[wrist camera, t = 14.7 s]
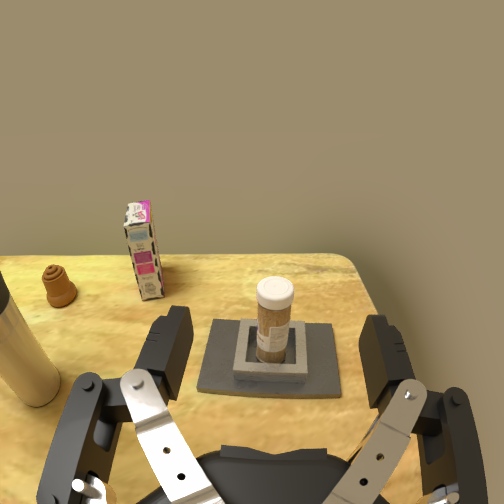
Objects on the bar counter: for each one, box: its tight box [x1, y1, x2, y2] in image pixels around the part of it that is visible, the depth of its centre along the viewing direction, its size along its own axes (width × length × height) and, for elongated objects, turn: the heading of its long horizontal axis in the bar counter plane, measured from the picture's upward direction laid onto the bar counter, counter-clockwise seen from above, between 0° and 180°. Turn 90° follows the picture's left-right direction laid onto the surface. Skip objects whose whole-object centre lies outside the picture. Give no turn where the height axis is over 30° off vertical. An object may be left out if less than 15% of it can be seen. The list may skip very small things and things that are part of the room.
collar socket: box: [197, 319, 341, 399], centre depth 42 cm, size 20×14×4 cm
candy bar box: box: [124, 200, 165, 301], centre depth 55 cm, size 11×5×16 cm, turn 18°
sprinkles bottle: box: [256, 276, 294, 364], centre depth 39 cm, size 5×5×13 cm
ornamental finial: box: [42, 265, 76, 307], centre depth 52 cm, size 8×8×8 cm
